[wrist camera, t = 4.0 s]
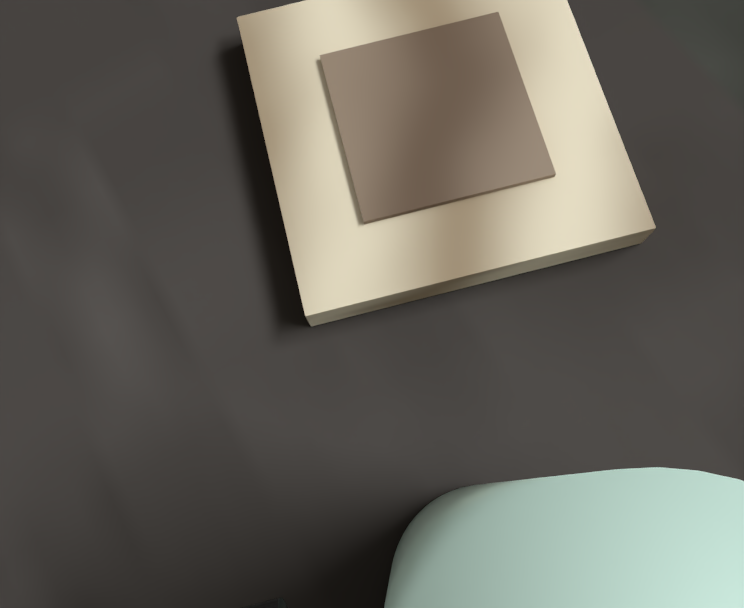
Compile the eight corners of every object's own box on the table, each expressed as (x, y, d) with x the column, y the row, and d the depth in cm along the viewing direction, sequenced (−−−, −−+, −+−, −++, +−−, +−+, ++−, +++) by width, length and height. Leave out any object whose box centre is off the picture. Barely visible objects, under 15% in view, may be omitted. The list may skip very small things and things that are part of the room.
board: (311, 326, 20) (304, 314, 19) (245, 41, 23) (235, 12, 21) (641, 243, 20) (658, 225, 19) (537, -30, 23) (545, -63, 21)
